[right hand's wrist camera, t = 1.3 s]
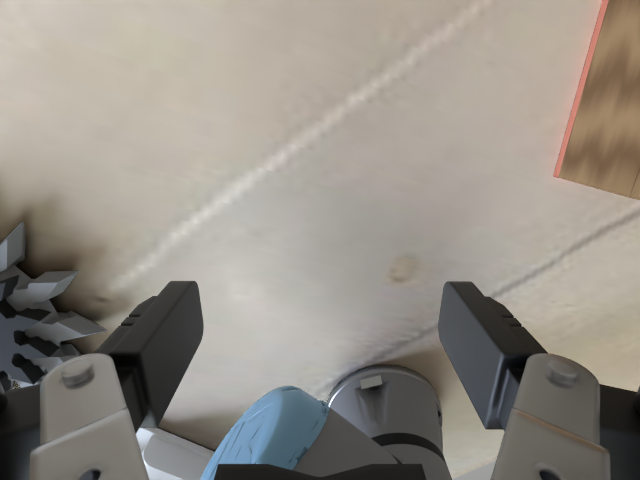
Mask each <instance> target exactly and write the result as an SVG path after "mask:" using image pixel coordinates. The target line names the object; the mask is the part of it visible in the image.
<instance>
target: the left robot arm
mask: <svg viewBox="0 0 640 480" xmlns="http://www.w3.org/2000/svg"><path fill="white" fill-rule="evenodd" d="M218 464H271V465H274V466H278V467H282V468H286V469H289V470H293V471H297V472H301V473H304V474H308V475H312V476H316V477H324V476H328V475H332V474H336V473H339V472H343V471H347V470H351V469H354V468H358V467H362V466H366V465H369V464H422V466H423V470H424V473H425V477H426V480H452V478H451V475H450V473H449V470H448V467H447V465H446V462H445V459H444V456H443V442H442V412H441V407H440V403H439V400H438V398H437V395H436V393H435V391H434V389H433V387H432V386H431V384H430V383H429V382H428V381H427V380H426V379H425V378H424V377H422V376H421V375H419V374H418V373H416V372H414V371H412V370H409V369H407V368H403V367H399V366H391V365H380V366H373V367H368V368H364V369H361V370H359V371H356V372H354V373H352V374H350V375H349V376H347V377H346V378H344V379H343V380H342V381H341V382H340V383H339V384H338V385H337V386H336V387H335V388H334V390H333V391H332V393H331V395H330V397H329V399H328V402H327V403H326V402H324V401H321V400H319V401H318V400H317V399H315V398H314V397H312V396H311V395H309V394H308V393H306V392H305V391H303V390H301V389H300V388H297V387H294V386H284V387H280V388H277V389H274V390H272V391H271V392H269V393H267V394H266V395H264V396H263V397H262V398H260V399H259V400H258V401H257V402H255V403H254V404H253V405H252V406H251V407H250V408H249V409H248V410H247V411H246V412H245V413H244V414H243V415H242V417H241V418H240V419H239V420H238V421H237V422H236V424H235V425H234V426H233V427H232V428H231V430H230V431H229V432H228V434H227V435H226V436H225V438H224V439H223V441H222V442H221V443H220V445H219V446H218V448H217V450H216V451H215V453H214V454H213V456H212V458H211V459H210V461H209V463H208V465H207V467H206V468H205V470H204V472H203V474H202V476H201V479H200V480H214V477H215V473H216V470H217V466H218Z"/></svg>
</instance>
